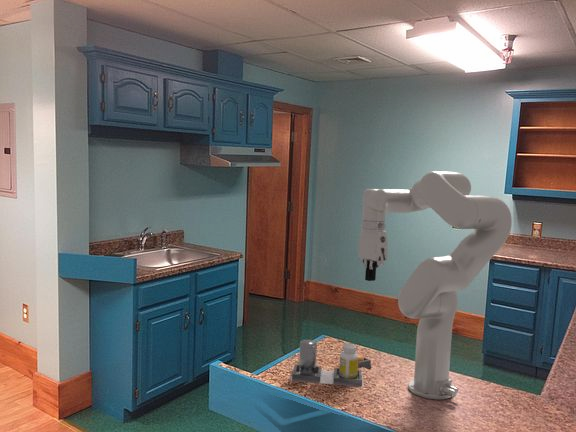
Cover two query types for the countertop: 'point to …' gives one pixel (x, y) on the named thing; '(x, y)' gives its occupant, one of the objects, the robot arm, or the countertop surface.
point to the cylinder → (307, 357)
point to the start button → (360, 358)
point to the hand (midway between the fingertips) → (370, 280)
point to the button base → (365, 363)
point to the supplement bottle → (348, 362)
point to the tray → (327, 377)
